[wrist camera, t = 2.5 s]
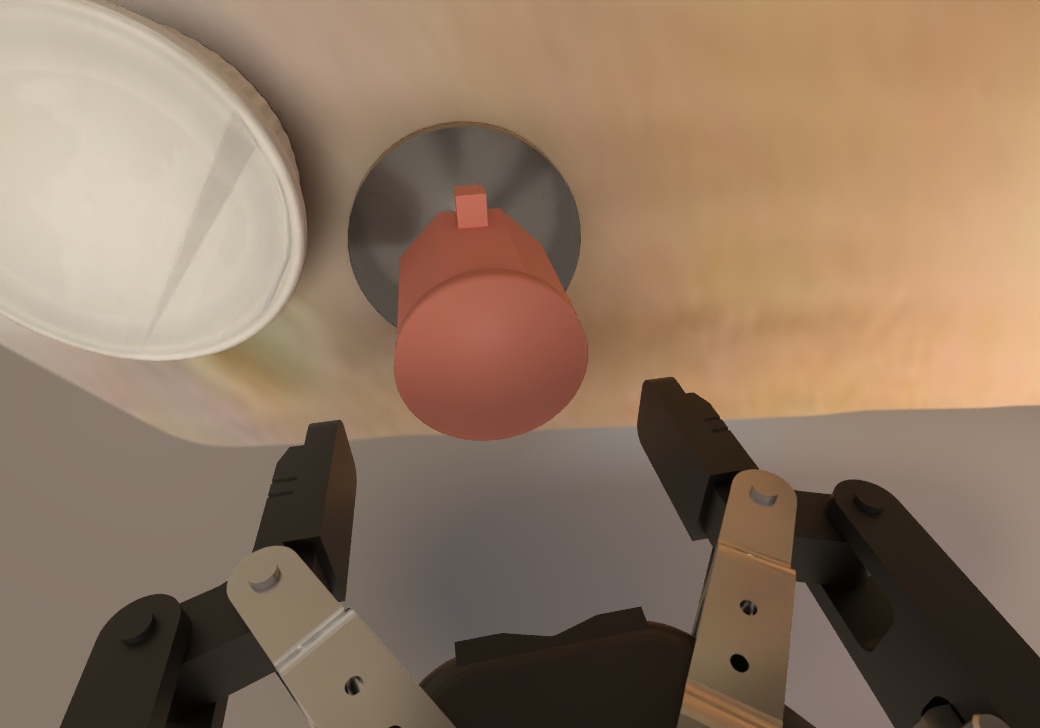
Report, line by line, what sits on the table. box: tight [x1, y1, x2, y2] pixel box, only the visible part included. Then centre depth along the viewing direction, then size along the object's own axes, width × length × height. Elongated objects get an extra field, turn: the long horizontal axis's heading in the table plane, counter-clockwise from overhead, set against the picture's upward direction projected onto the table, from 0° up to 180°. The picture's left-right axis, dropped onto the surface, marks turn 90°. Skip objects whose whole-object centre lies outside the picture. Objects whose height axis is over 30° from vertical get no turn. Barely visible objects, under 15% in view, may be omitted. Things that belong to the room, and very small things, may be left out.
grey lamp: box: [348, 122, 581, 327], centre depth 20 cm, size 10×10×9 cm
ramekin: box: [0, 0, 308, 361], centre depth 18 cm, size 11×11×5 cm
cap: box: [394, 185, 588, 441], centre depth 18 cm, size 8×6×6 cm
